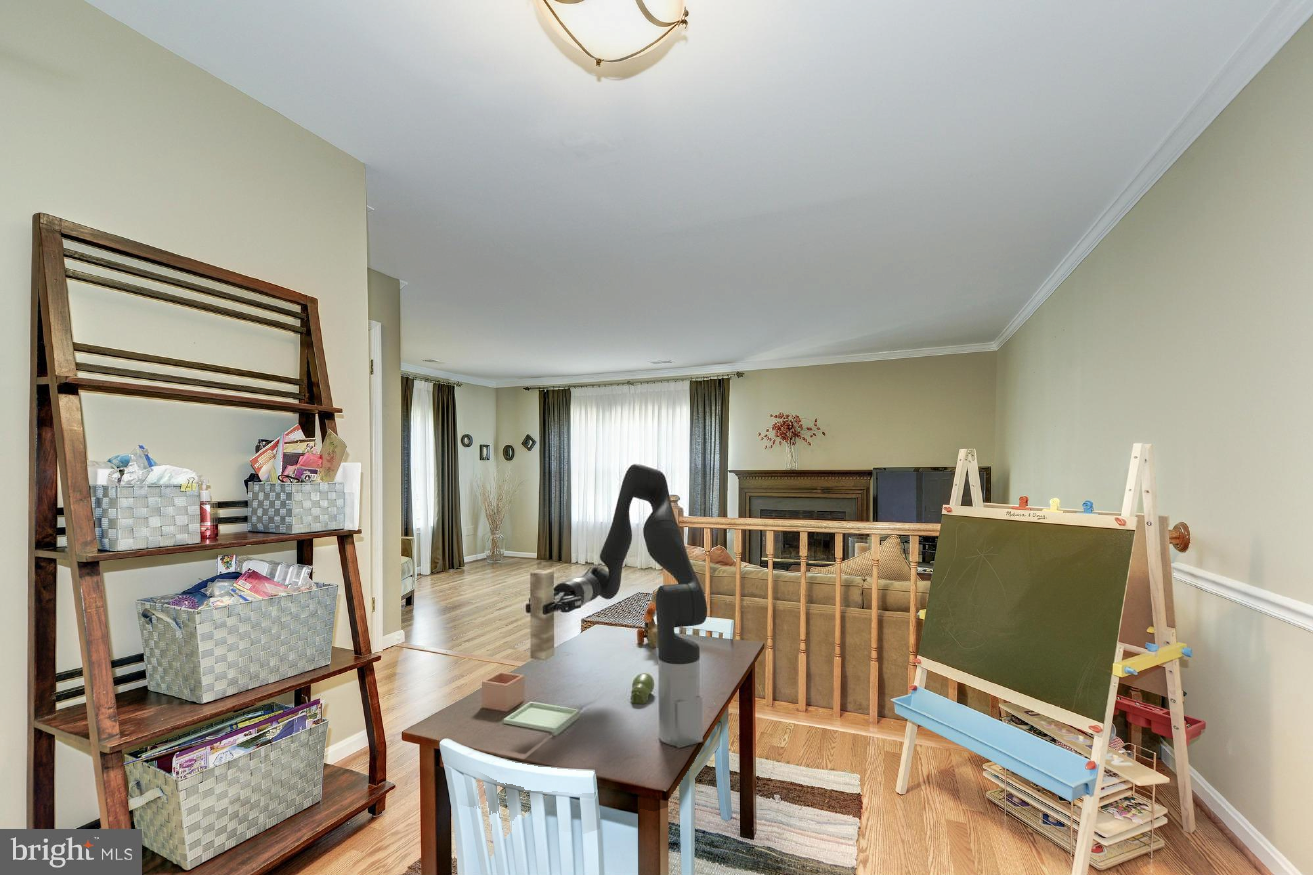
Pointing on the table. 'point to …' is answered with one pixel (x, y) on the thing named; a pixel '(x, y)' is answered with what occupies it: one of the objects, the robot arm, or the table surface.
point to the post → (541, 615)
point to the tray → (543, 717)
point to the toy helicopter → (649, 627)
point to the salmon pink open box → (503, 691)
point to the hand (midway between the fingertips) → (535, 609)
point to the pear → (642, 688)
